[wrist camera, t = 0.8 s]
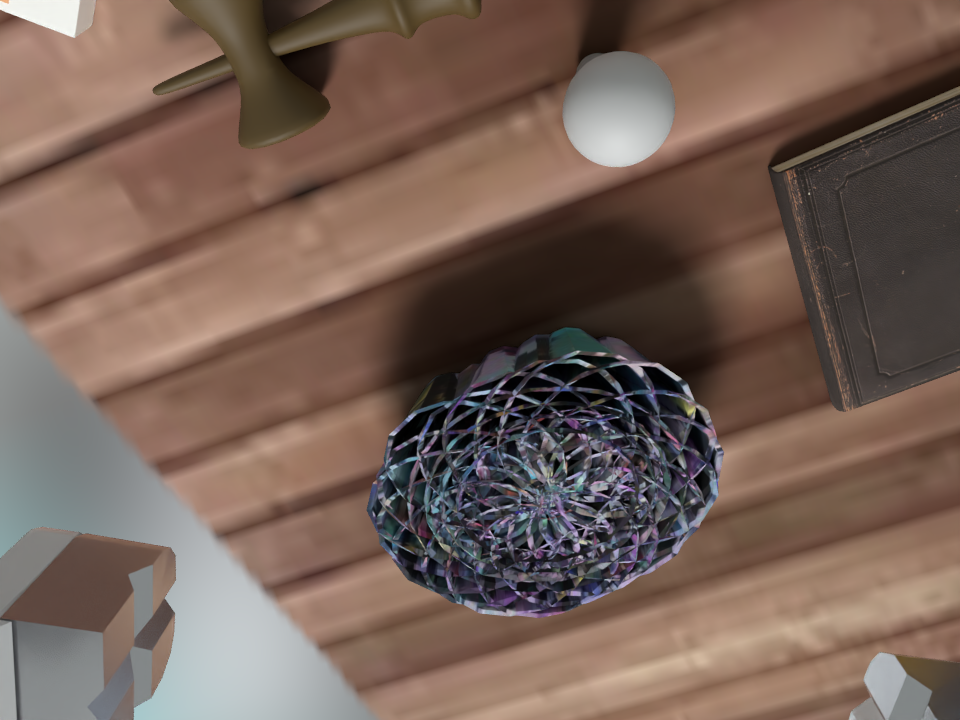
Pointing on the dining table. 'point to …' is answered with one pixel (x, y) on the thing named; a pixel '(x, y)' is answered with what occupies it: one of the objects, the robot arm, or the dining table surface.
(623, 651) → the dining table surface
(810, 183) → the hardcover book
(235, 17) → the kendama
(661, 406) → the decorative bowl
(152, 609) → the robot arm
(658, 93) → the lightbulb
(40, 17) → the breaker panel
